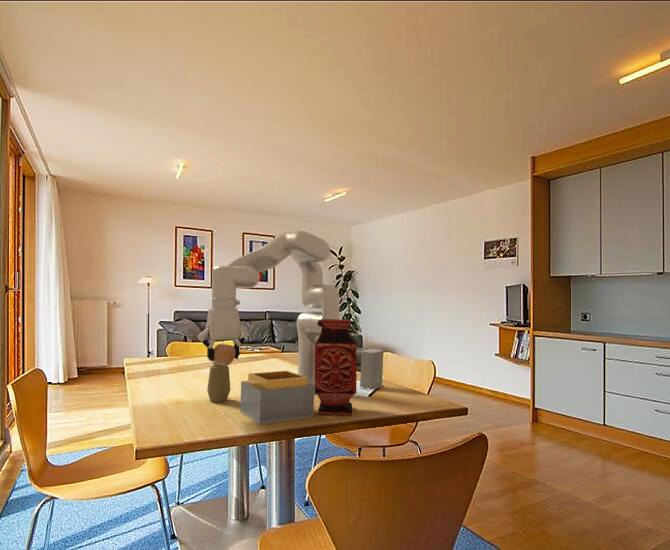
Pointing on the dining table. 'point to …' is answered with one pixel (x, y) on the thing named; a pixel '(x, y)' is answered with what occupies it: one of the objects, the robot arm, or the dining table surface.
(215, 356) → the fruit
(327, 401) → the vase
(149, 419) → the dining table surface
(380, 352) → the skincare box
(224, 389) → the squeeze bottle
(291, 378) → the box
